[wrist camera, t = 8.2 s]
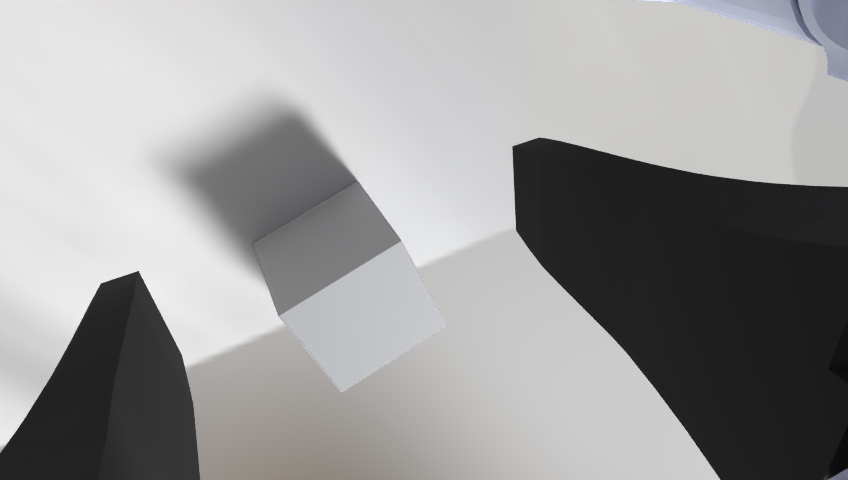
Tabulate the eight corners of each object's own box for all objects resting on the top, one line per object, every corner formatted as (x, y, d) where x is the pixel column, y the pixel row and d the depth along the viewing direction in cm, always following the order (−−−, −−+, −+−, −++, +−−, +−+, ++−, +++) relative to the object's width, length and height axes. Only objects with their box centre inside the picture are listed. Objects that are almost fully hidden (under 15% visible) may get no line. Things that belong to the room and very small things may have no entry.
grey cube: (356, 179, 23) (401, 240, 20) (402, 259, 26) (447, 325, 23) (251, 242, 23) (278, 316, 19) (309, 317, 26) (341, 393, 22)
